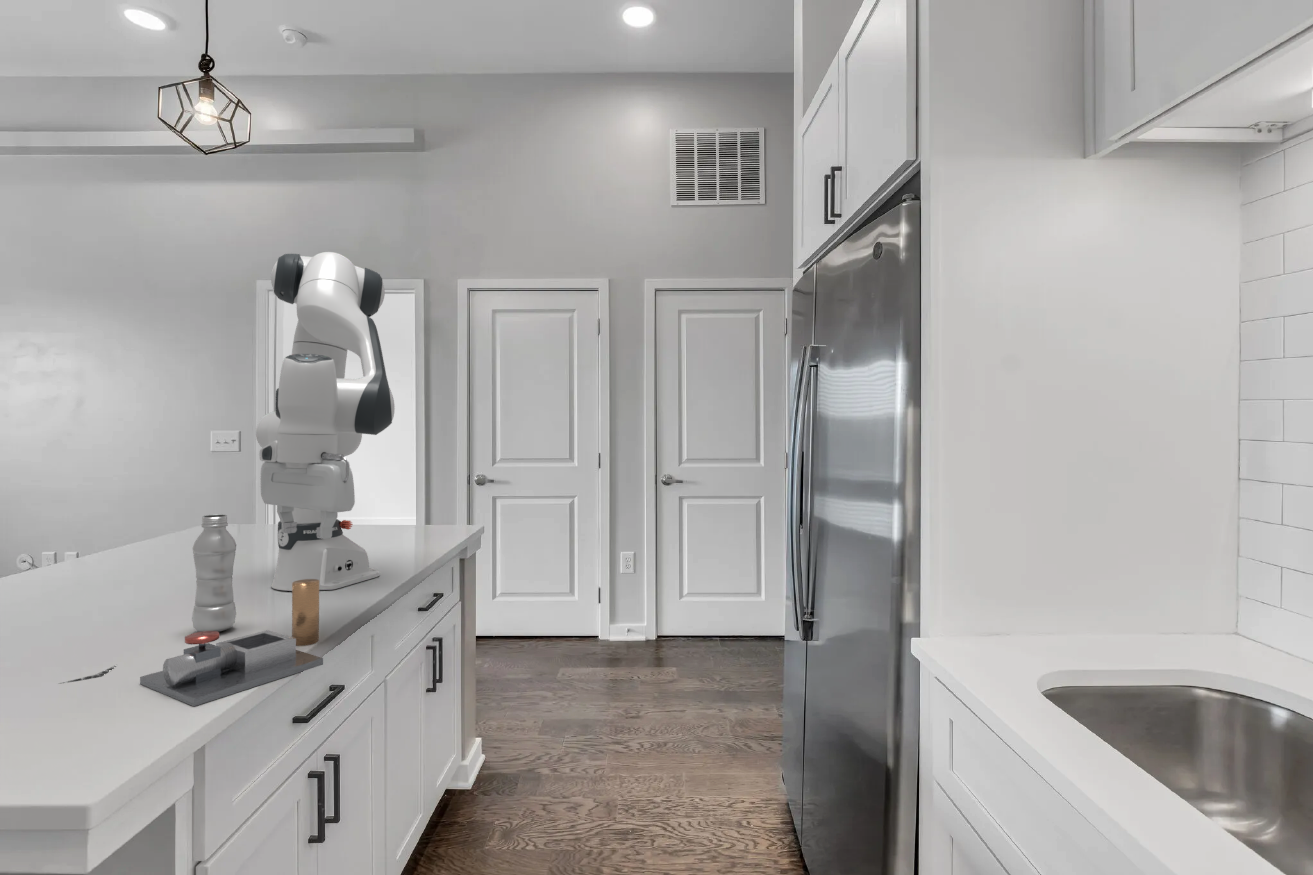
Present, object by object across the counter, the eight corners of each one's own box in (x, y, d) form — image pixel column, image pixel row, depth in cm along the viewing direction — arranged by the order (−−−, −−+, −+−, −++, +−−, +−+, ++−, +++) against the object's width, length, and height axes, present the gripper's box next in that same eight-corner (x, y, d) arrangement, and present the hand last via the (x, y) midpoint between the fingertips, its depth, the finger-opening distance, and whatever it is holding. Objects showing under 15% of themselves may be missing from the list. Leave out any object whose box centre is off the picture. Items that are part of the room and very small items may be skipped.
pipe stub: (309, 636, 116) (309, 577, 116) (324, 640, 114) (324, 581, 114) (286, 642, 113) (286, 582, 113) (301, 647, 111) (301, 585, 111)
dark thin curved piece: (50, 691, 91) (25, 688, 93) (50, 696, 91) (25, 693, 93) (147, 659, 103) (123, 657, 105) (147, 664, 103) (124, 662, 105)
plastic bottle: (230, 623, 123) (231, 512, 123) (241, 632, 118) (241, 516, 118) (188, 630, 118) (188, 515, 118) (196, 639, 114) (196, 519, 113)
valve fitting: (268, 647, 110) (268, 605, 110) (323, 664, 103) (323, 619, 103) (140, 683, 95) (140, 635, 95) (193, 706, 88) (193, 653, 88)
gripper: (365, 453, 111) (364, 539, 111) (289, 449, 121) (288, 527, 121) (330, 454, 105) (328, 544, 105) (253, 449, 115) (252, 532, 115)
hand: (306, 535), depth 113 cm, fingers open, 8 cm apart
